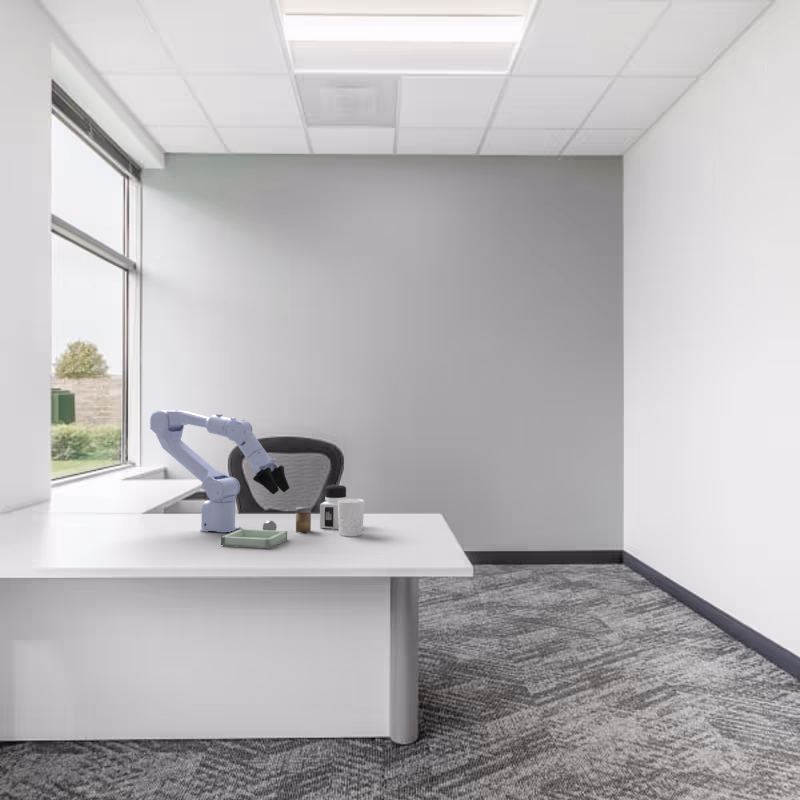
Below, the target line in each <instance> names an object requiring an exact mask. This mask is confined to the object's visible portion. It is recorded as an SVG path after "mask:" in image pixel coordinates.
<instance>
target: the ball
mask: <svg viewBox="0 0 800 800" xmlns="http://www.w3.org/2000/svg"><path fill="white" fill-rule="evenodd" d="M262 530H274V531H277V524H276V522H275V521H273V520H266V521H265V522H264V523H263V525H262Z"/></svg>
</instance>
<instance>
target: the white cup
mask: <svg viewBox="0 0 800 800" xmlns="http://www.w3.org/2000/svg"><path fill="white" fill-rule="evenodd" d="M364 511H365V500H364V499H362V498H346V499H340V500H338V524H339V529H338V535H339V536H341V535H343V536H342V537H358V535H359V536H361V535H363V526H364Z"/></svg>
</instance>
